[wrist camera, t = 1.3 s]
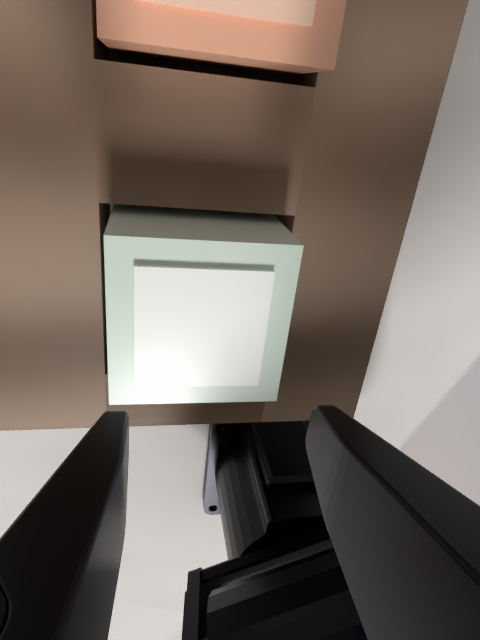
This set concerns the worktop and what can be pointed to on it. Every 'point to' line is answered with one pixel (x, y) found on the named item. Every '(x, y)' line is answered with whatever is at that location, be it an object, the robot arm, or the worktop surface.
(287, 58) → the terracotta key
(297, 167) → the key console
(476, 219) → the worktop surface
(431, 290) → the worktop surface
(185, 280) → the sage key
